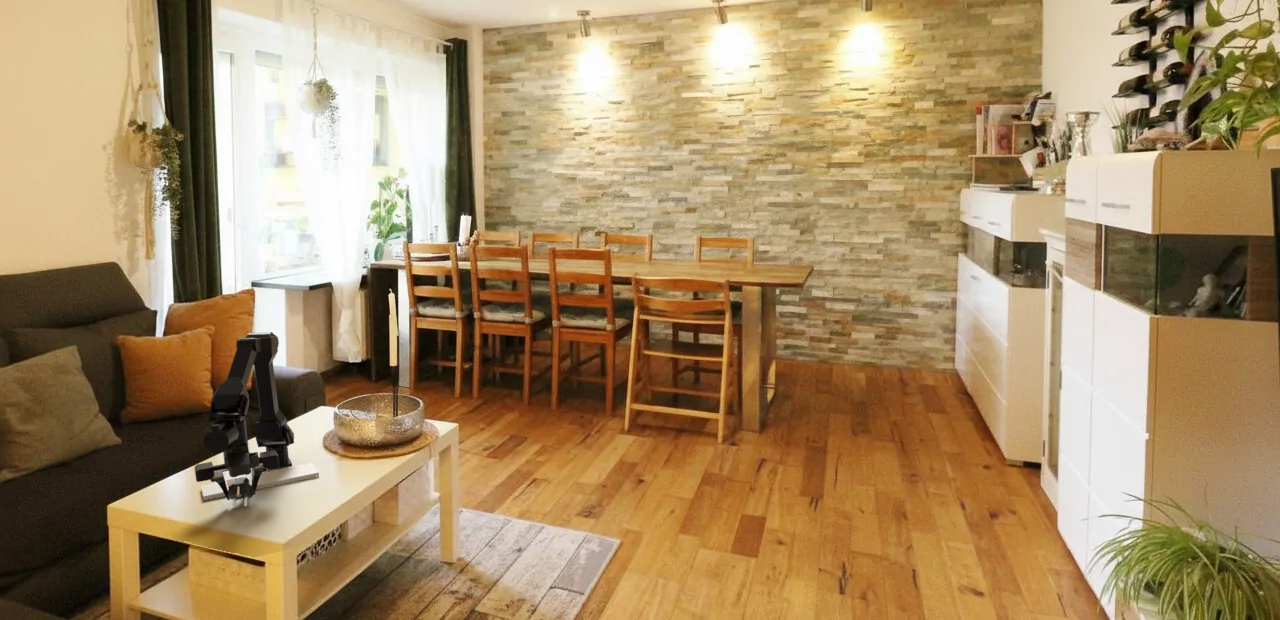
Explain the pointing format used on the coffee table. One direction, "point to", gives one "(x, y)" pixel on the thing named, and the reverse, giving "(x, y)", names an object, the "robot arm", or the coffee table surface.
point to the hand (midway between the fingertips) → (241, 497)
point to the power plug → (240, 491)
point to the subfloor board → (265, 480)
